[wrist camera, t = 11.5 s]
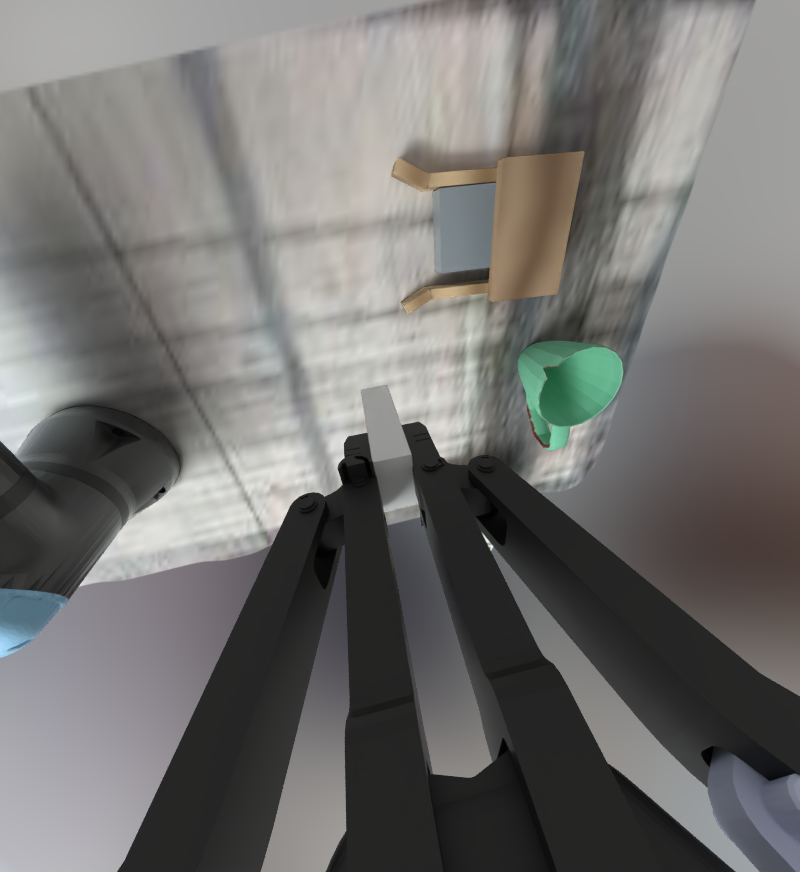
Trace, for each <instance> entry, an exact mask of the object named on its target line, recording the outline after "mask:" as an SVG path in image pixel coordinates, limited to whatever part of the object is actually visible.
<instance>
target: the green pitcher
mask: <svg viewBox="0 0 800 872" xmlns="http://www.w3.org/2000/svg"><path fill="white" fill-rule="evenodd" d="M518 371H519V375H520V378H521V381H522V384H523V386H524V389H525V391H526V399H527V411H528V415H529V419H530V423H531V427H532V430H533V434H534V436H535V437H536V439H537V440H538V441H539V442H540V444H541V445H542V446H543V448H545V449H547V450H549V451H550V450H556V449H560V448H563V447H565V446H566V445H567V441H568V438H569V433H570V427H571V426H575V425H578V424H582V423H584V422H586V421H588V420H589V419H591V418H593V417H595V416H596V415H597V414H598V413H600V412H601V411H602V410H603V409H605V408H606V406H607V405H608V404H609V403H610V402H611V400H612V399H613V398H614V397H615V395H616V393H617V391H618V389H619V387H620V385H621V381H622V376H623V365H622V360H621V359H620V357H619V356H618V354H617V353H616V352H615V351H613V350H611V349H609V348H607V347H605V346H602V345H599V344H588V343H578V342H572V341H545V342H539V343H535V344H532V345H530V346H528V347H527V348H526V349H525V350H524V351H523V352H522V353H521V355H520V357H519V360H518ZM548 424H551V425H552V428H551V433H550V430H549V427H548Z"/></svg>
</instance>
